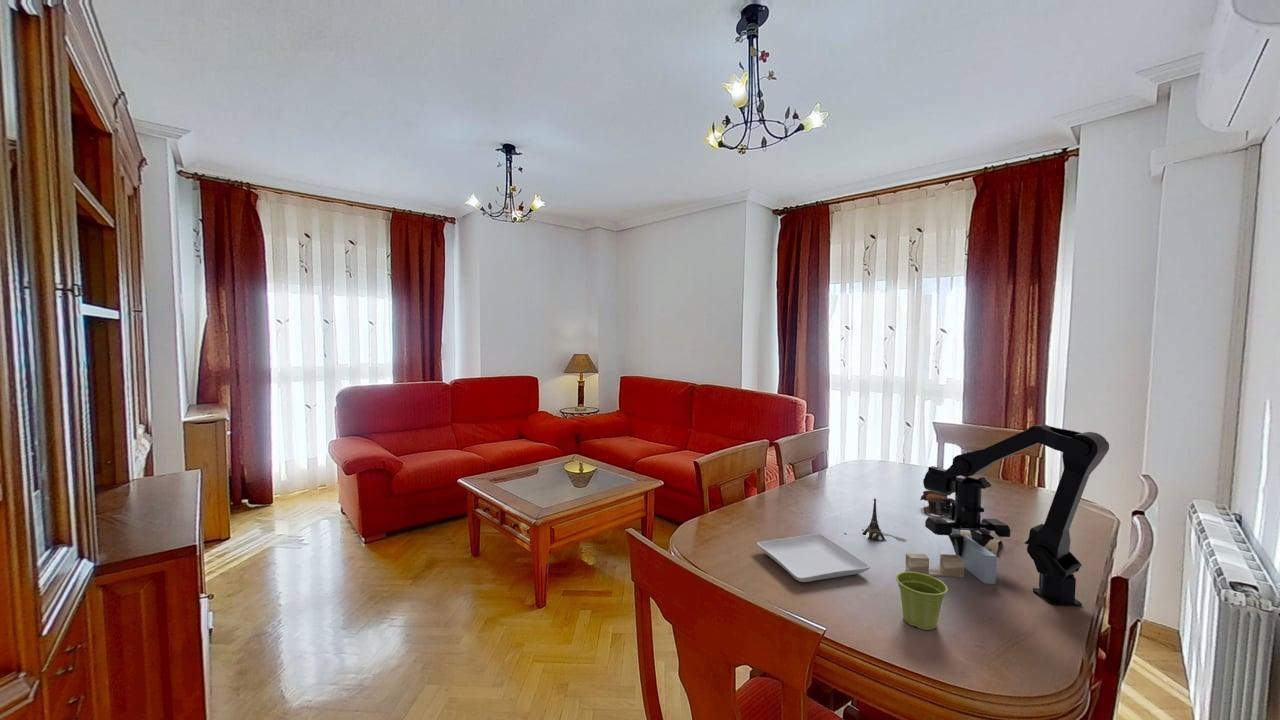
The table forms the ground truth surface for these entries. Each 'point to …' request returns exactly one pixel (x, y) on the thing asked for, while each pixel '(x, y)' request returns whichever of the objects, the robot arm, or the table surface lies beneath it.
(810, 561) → the salad plate
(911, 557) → the maple rail
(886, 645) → the table surface
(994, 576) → the pale blue plank
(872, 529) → the eiffel tower figurine
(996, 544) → the clay tablet
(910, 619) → the plant pot
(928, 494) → the pottery mug
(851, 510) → the table surface
